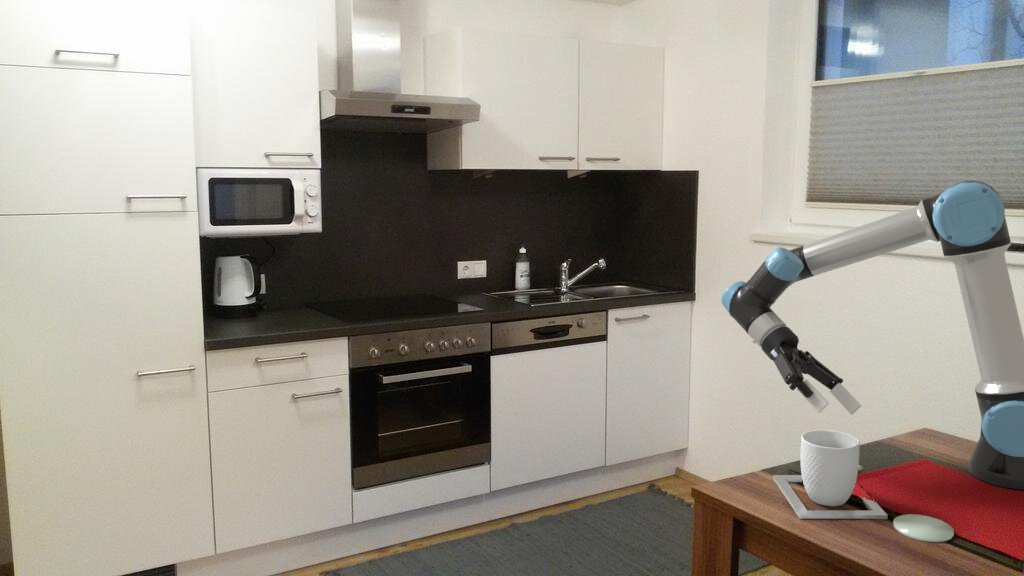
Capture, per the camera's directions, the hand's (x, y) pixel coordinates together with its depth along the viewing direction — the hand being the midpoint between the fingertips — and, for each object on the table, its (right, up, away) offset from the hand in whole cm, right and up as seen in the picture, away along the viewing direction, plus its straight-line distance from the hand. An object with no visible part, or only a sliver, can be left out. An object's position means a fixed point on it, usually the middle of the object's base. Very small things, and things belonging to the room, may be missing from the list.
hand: (840, 409), depth 160 cm
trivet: (+10, -20, -14) cm, 26 cm away
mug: (-2, -18, +1) cm, 19 cm away
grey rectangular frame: (-2, -18, +1) cm, 18 cm away
